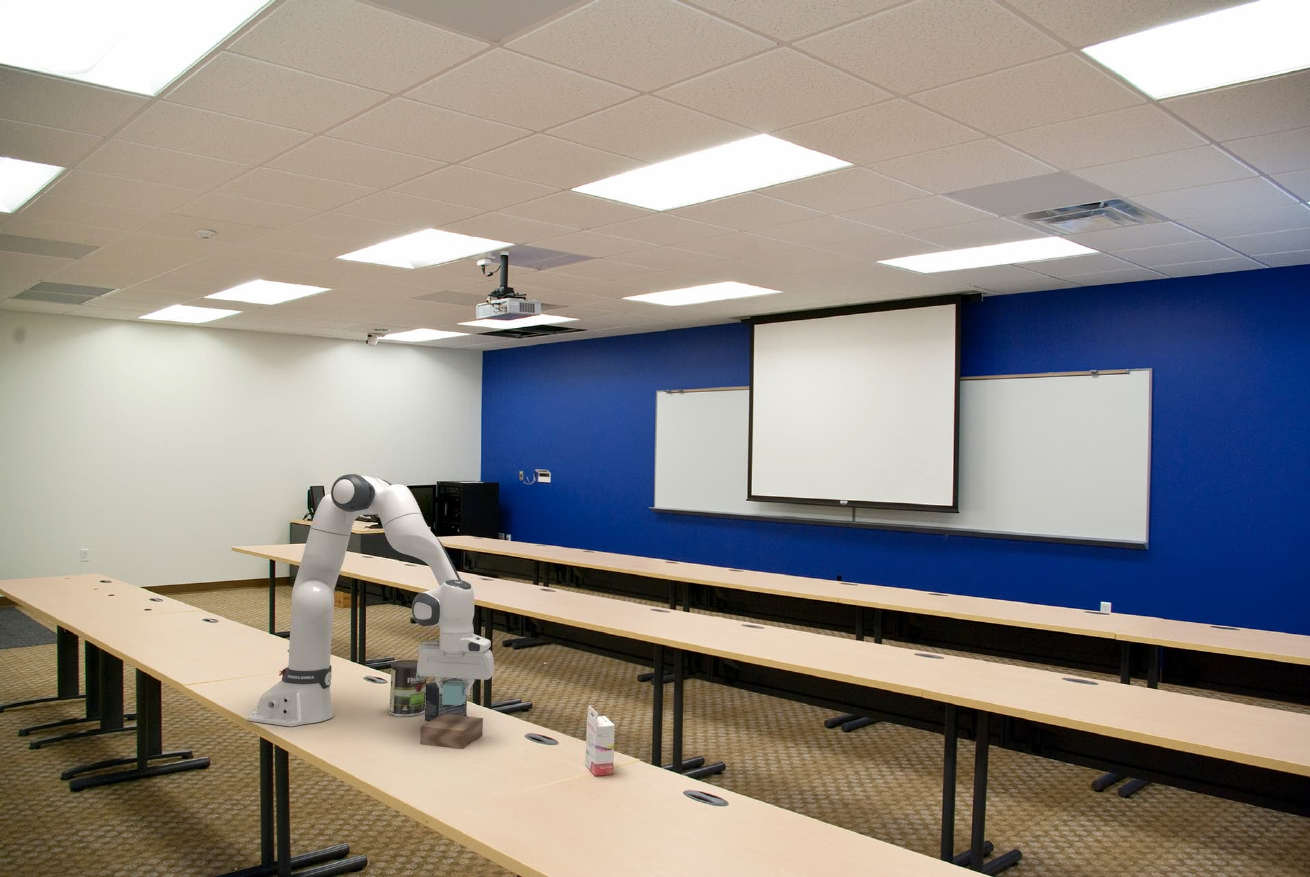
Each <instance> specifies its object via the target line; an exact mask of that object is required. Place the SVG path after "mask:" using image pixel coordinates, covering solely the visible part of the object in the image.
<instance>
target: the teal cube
mask: <svg viewBox="0 0 1310 877" xmlns="http://www.w3.org/2000/svg"><path fill="white" fill-rule="evenodd" d="M467 686H468V683H467V680H465V681H448V682H446V683H445V684H444V685H443V690H442V704H443V705H462V704H463V703H464V702H465V701H466V697H467V698H468V696H466V695H463V688H465V687H467Z"/></svg>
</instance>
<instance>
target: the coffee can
mask: <svg viewBox="0 0 1310 877" xmlns="http://www.w3.org/2000/svg"><path fill="white" fill-rule="evenodd" d="M417 664H418V659H417V660H416V659H404V660H403V659H402V660H397V661H393V662H392V663H391V664H390V668H391V669H390V670H391V671H390V691H389V692H390V693H389V694H390V695H389V708H388V709H389V711H388V713H389V715H391V716H395V717H403V718H405V717H406V718H407V717H409V718H410V717H416V716H419V715H423V714H425V697H426V684H427V677H423V676H419V675H418V673H417Z"/></svg>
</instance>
